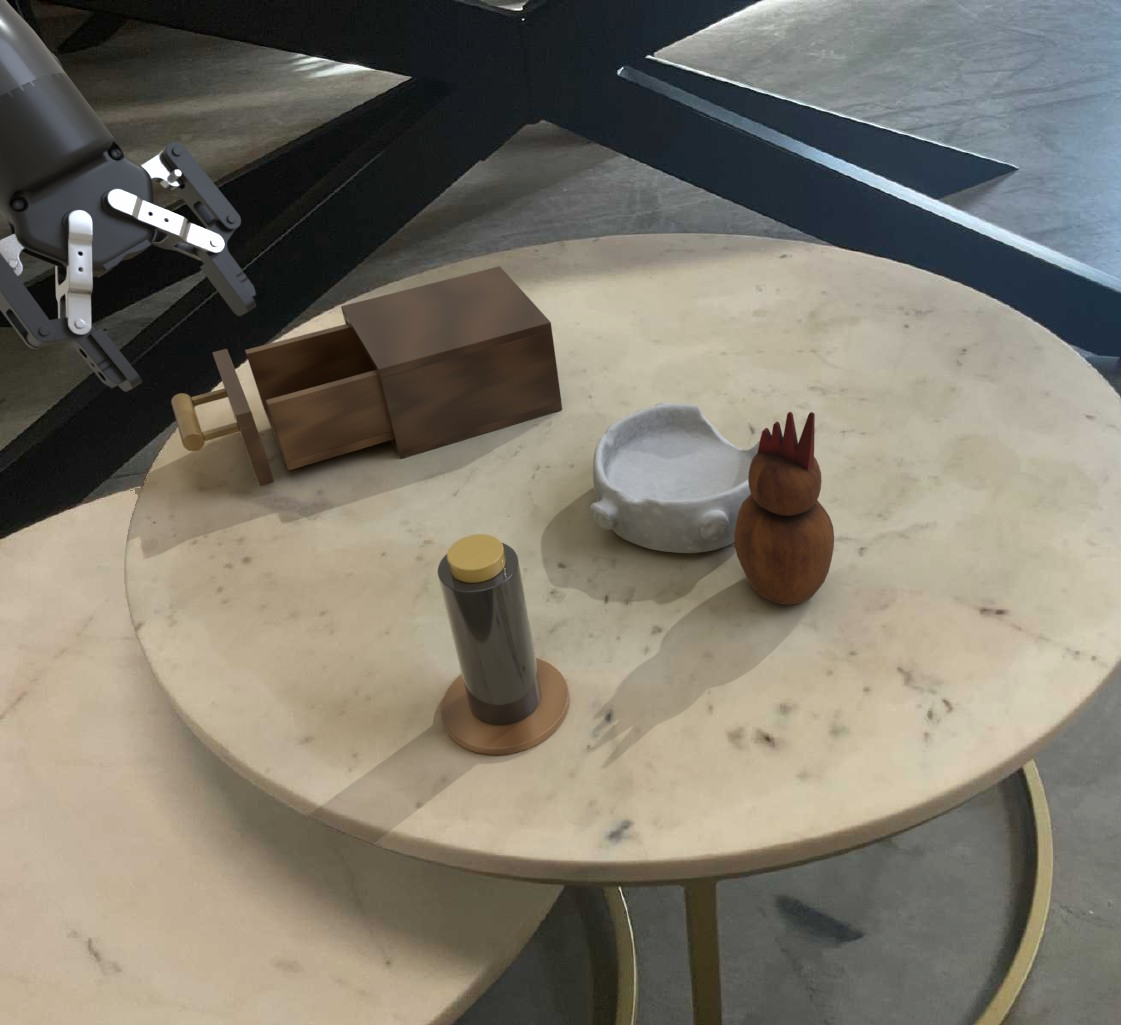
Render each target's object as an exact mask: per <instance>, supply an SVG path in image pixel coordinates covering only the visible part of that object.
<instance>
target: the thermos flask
mask: <svg viewBox="0 0 1121 1025" xmlns="http://www.w3.org/2000/svg"><path fill="white" fill-rule="evenodd" d="M437 577H438V581H439V586H440V589H441V594H442V598H443V603H444V606H445V610H446V615H447V618H448V624H449V628H450V632H451V636H452V640H453V644H454V649H455V652H456V658H457V661H458V666H459V670H460V675H461V674H462V678H463V683H464V687H465V691H466V695H467V700H468V704H469V708H470V710H471V712H472V714H473V715H474V716H475V717H476V718H477V719H478V720H480V721H482V722H484V723H487V724H491V725H509V724H513V723H516V722H519V721H521V720H523V719H525V718H526V717H528V716H529V715H531V714H532V713H533V712H534V711H535V710H536V708H537V707H538V705H539V703H540V701H541V698H542V689H541V684H540V678H539V673H538V667H537V661H536V658H537V656H536V650H535V645H534V640H533V639H534V638H533V636H532V635H533V634H532V628H531V624H530V623H531V622H530V617H529V613H528V606H527V600H526V594H525V590H524V584H523V583H524V582H523V577H522V572H521V566H520V561H519V557H518V554H517V552H516V551H515V549H514V548H512V546H510V545H508V544H507V543H505V542H502V541H501V540H500V539H499V538H497V537H495V536H494V535H490V534H485V533H484V534H483V533H482V534H481V533H479V534H478V533H477V534H471V535H467V536H465V537H464V536H463V537H462V538H459V539H458V540H457V541H455V542H454V543H453V544H451V546H450V547H449V548H448V550H447V553H446V554H445V555H444V556H443V557H442V558H441V560H440V562H439V564H438V566H437Z"/></svg>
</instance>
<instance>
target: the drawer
mask: <svg viewBox="0 0 1121 1025" xmlns="http://www.w3.org/2000/svg"><path fill="white" fill-rule="evenodd" d="M244 352H245V355H246V358H247V361H248V364H249V367H250V371H251V374H252V376H253V380H254V383H255V386H256V390H257V392H258V395H259V399H260V402H261V404H262V408H263V411H264V414H265V416H266V419H267V422H268V423H269V426H270V428H271V431H272V434H273V436H274V439H275V441H276V443H277V446H278V449H279V451H280V453H281V456H282V457H283V461H284V463H285V465H286V468H287V471H291V470H295V469H298V468H301V467H305V466H308V465H311V464H314V463H315V464H316V463H319V462H322V461H325V460H329V459H332V458H335V457H338V456H339V457H340V456H342V455H346V454H348V453H352V452H355V451H359V450H363V449H365V448H368V447H369V448H370V447H372V446H376V445H379V444H382V443H386V442H389V441H390V440H393V439H394V437H393V433H392V429H391V424H390V420H389V416H388V412H387V408H386V404H385V400H384V396H383V392H382V388H381V384H380V380H379V376H378V373H377V371H376V369H375V367H374V366H373V364H372V362H371V361H370V359H369V357H368V356H367V354H366V352H365V351H364V349H363V347H362V345H361V344H360V342H359V340H358V339H357V337H356V335H355V334H354V332H353V330H352V328H351V327H350V325H349V323H348V324H345V323H344V324H340V325H336V326H332V327H328V328H324V329H322V330H318V331H314V332H309V333H306V334H305V333H304V334H302V335H297V336H295V337H290V338H285V339H283V340H279V341H274V342H271V343H267V344H263V345H259V346H256V347H252V348H251V347H250V348H248V349H245V350H244ZM212 357H213V359H214V362H215V365H216V367H217V370H218V374H219V376H220V380H221V382H222V385H223V388H221V389H217V390H213V391H209V392H206V393H205V392H204V393H201V394H199V395H195V396H190V395H189V394H187V393H182V392H180V393H177V394H175V395H174V396H173V397H172V398H171V407H172V411H173V413H174V418H175V421H176V426H177V428H178V432H179V436H180V440H181V443H182V446H183V448H184V449H186V450H187V451H189V452H197V451H200V450H201V449H203V447H204V446H205V443H206V442H207V441H211V440H215V439H219V438H222V437H225V436H229V435H233V434H237V433H239V434H240V437H241V439H242V443H243V445H244V448H245V451H246V453H247V456H248V459H249V462H250V464H251V468H252V471H253V474H254V476H255V478H256V481H257V485H258V487H260V488H261V487H265V486H267V485H271V484H274V483H275V479H274V476H273V474H272V471H271V467H270V464H269V461H268V458H267V455H266V452H265V449H264V446H263V442H262V440H261V437H260V434H259V431H258V428H257V425H256V422H255V419H254V416H253V413H252V409H251V408H250V405H249V403H248V400H247V397H246V395H245V392H244V389H243V386H242V384H241V382H240V379H239V376H238V374H237V372H236V369H235V366H234V364H233V361H232V358H231V356H230V353H229V350H228V348H223V349H220V350H217V351H216V350H215V351H213V352H212ZM223 399H228V403H229V405H230V409H231V411H232V415H233V417H234V421H235V422H233V423H229V424H225V425H222V426H218V427H215V428H212V429H208V430H204V431H203V430H202V427H201V424H200V421H199V417H198V415H197V411H196V408H195V407H196V406H197V407H198V406H200V405H204V404H208V403H211V402H215V401H219V400H223Z"/></svg>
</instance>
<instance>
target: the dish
mask: <svg viewBox="0 0 1121 1025" xmlns="http://www.w3.org/2000/svg"><path fill="white" fill-rule="evenodd" d="M759 443H760V440H758V442H756V443H755V445H754V446H752V447H751V448H749V449H748V448H747V449H743V448H739V447H738V446H736V445H734V444H733V443H731V441H729V440H728V439H727V438H725V437H724V436H723V435H722V434H721V433H720V431H718V429H717V428H716V427H715V426H714V425H713V424H712V423H711V421H709V420H708V418H707V417H706V416H705V414H704V412H702V410H701V408H700V407H699V406H697V405H696V404H691V403H674V402H668V401H663V402H659V403H657V404H654V406H649V407H644V408H642V409H639V410H636V411H634V412H632V413H629V414H627V415H626V416H624V417H622V418H620V419H618V420H616V421H615V422H613V423H612V424H611V425H609V427H608V428H607V429H606V431H605V432H604V434H603V435H602V436H601V437H600V438H599V439H598V441H597V444H596V446H595V449H594V453H593V458H592V459H593V461H592V478H593V480H592V481H593V487H594V494H595V499H596V501H595V502H593V503H592V504H591V505H590V507H589V509H590V513H591V516H592V519H593V520H594V521H595V522H596V524H597V525H598V526H599V527H600V528H602V529H604V530H607V531H609V530H610V531H613V532H614V533H615V534H616V535H618V537H620V538H621V539H623V540H625V541H628V542H629V543H631V544H634V545H637V546H639V547H642V548H647V549H650V550H654V551H658V552H659V551H660V552H666V553H674V554H675V553H678V554H697V553H706V552H711V551H716V550H719V549H722V548H725V547H728V546H729V545H732V544H735V539H734V534H735V528H736V522H737V517H738V512H739V510H740V507H741V505H742V503H743V501H744V500H745V499H746V498H747V497H748V496H749V495H750V494H751V492H750V489H749V483H748V476H749V469H750V464H751V462H752V459H753V457H754V456H755V455H756V454H757V453H758V448H759Z"/></svg>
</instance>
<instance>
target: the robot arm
mask: <svg viewBox="0 0 1121 1025" xmlns="http://www.w3.org/2000/svg"><path fill="white" fill-rule="evenodd" d="M154 182H155V183H158V184H160V185H161V186H162V187H163V188H164V189H166V190H168V191H176V193H177V194H178V195H179V196H180V198H181V199H182V200H183V201H184V203H185V204H186V206H188V207H189V209H190V210H191V211H192V212H193V214H194V215H195V216H196V217H197V219H198V220H199V221H200V222H201V223H202V225H203V226H204V227H205V228H204V227H202V226H200V225H197V224H195V223H192V222H190V221H189V219H188V218H186V217H185V216H183V215H180V214H178V213H175V212H173V211H170V210H169V209H165V208H163V207H161V206H159V205H156V204H155V198H154V197H155V196H154ZM0 214H1V215H2V216H3V217H4V218H5V220H6V222H7V224H8V226H9V228H10V233H11V234H10V235H8V236H6V237H4V238H3V237H2V238H1V239H0V312H1V313H2V314H3V316H4V317H5V318H6V320H7V321H8V322H9V324H10V325H11V326H12V328H13V329H14V330H15V332H16V333H17V334H18V336H19V337H20V338H21V340H22V341H23V343H24V344H25V345H26V346H27V347H28V348H30V349H33V350H40V349H43V348H44V347H45V348H46V347H50V346H54V345H60V344H66V345H68V346H71V347H72V348H74V349H75V351H76V352H77V353H78V354H79V355H80V356H81V358H82V359H83V360H84V362H85V363H86V364H87V365H88V367H89V368H90V369H91V370H92V371H93V373H95V375H96V377H98V379H99V380H100V381H101V382H102V384H104V385H106V386H108V387H109V388H110V389H114V388H115V387H117V386H118V387H119V388H120V389H121V390H122V391H123V392H125V393H127V392H129V391H131V390H133V389H134V388H136V387H138V386H139V385H140V384H142V383H143V380H142V378H141V376H140V375H139V373H138V372H137V371H136V369H135V368H134V367H133V366H132V365H131V363H130V362H129V361H128V359H127V358H126V357H125V356H124V355H123V353H122V352H121V351H120V349H119V348H118V347H117V346H116V344H115V343H114V342H113V341H112V339H110V337H109V336H108V335H107V333H106V332H105V331H104V330H103V329H102V327H100V328H98V329H96V328H95V327H94V326H93V324H92V294H93V289H94V282H93V281H94V279H93V278H96V277H97V278H100V277H103V276H104V275H106V274H107V273H109V272H111V271H112V270H113V269H114V268H116V267H117V266H118V265H119V264H120V263H121V262H122V261H123V262H124V261H127V260H130V259H133V258H135V257H137V256H138V255H140V254H142V253H143V252H145V251H146V250H147V249H148V248H149V247H150V246H155V247H157V248H160V249H162V250H167V251H170V250H171V251H175V252H177V253H180V254H183V255H185V256H187V257H190V258H193V259H195V260H197V261H199V262H200V261H201V262H202V263H203V264H202V265H201V266H199V268H200V270H201V271H202V273H204V275H205V276H206V277H207V279H208V280H209V282H210V284H212V285H213V287H214V288H215V290H216V291H217V292H218V293H219V295H220V297H222V299H223V300H224V302H225V303H226V304H227V306H228V307H229V308H230V310H231V311H232V312H233V314H234V315H236V316H237V317H242V316H244V315H246V314H247V313H249V312H251V311H252V310H253V309H255V308H256V307H257V303H256V301H255V299H254V297H255V296H256V295H257V292H256V288H255V286H254V284H253V283H252V282H251V280H250V279H249V278H248V276H247V275H246V274H245V272H244V270H243V269H242V268H241V267H240V265H239V264H238V262H237V261H236V260H235V258H234V257H233V255H232V254H231V253H230V251H229V248H228V243H229V240H230V238H231V237H232V235H233V234H234V233H235V231H236V230H237V229H238V228H240V226H241V224H242V218H241V216H240V214H239V213H238V211H237V210H236V209H235V207H234V206H233V205H232V204H231V202H230V201H229V200H228V199H227V198H226V196H225V195H224V194H223V193H222V192H221V190H220V189H219V188H218V186H217V185H216V184H215V183H214V182H213V180H212V179H211V177H210V176H209V175H208V174H207V172H205V170H204V169H203V168H202V167H201V165H200V164H199V162H198V161H197V160H196V159H195V157H193V155H192V154H191V153H190V151H189V150H188V149H187V148H186V147H185V145H184V144H182V143H181V142H179V141H170V142H168V143H167V144H166V146H164V147H163V148H162V150H161V151H159V153H158V154H157V155H155V156H154V157H152V158H151V159H149V160H147V161H146V162H144V163H142V164H139V163H137V162H135V161H134V160H132V159H131V158H130V157H129V156H128V155H126V154H125V153H124V151H123V150H122V148H121V146H120V145H119V144H118V142H117V140H116V138H115V137H114V136H113V134H112V133H111V132H110V130H109V129H108V128H107V126H106V125H105V123H104V122H103V121H102V119H100V117H99V116H98V114H97V112H95V110H94V109H93V108H92V106H91V105H90V104H89V103H88V101H87V99H86V98H85V97H84V95H83V94H82V93H81V92H80V90H79V89H78V88H77V86H76V85H75V83H74V82H73V80H72V79H71V78H70V77H69V76H68V74H67V72H66V71H65V70H64V68H63V65H62V63H61V61H60V60H59V58H58V57H57V56H56V55H55V54H54V53H53V52H51V50H50V49H49V48H48V47H47V46H46V44H45V43H44V42H43V40H42V39H41V38H40V37H39V35H38V34H37V33H36V31H35V30H34V29H33V28H32V27H31V26H30V24H29V23H28V22H26V20H25V19H24V18H23V17H22V16H21V15H20V14H19V13H18V12H17V10H15V8H13V7H12V6H11V4H10V3H9V2H8V1H7V0H0ZM21 253H22V254H25V256H26V255H27V256H29V257H31V258H34V259H37V260H39V261H42V262H45V263H48V264H50V265H53V266H55V267H54V270H55V271H54V272H55V276H54V277H55V298H56V301H57V318H53V319H49V317H48V315H47V314H46V313H45V312H44V311H43V309H42V307H41V306H40V305H39V303H38V302H37V301H36V299H35V298H34V297H33V295H32V294H31V293H30V291H29V290H28V288H27V287H26V285H25V284H24V283H23V282H22V280H21V279H20V278H19V277H20V276H21V275H22V273H23V270H24V266H23V263H22V261H21V259H20V255H21Z"/></svg>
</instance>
